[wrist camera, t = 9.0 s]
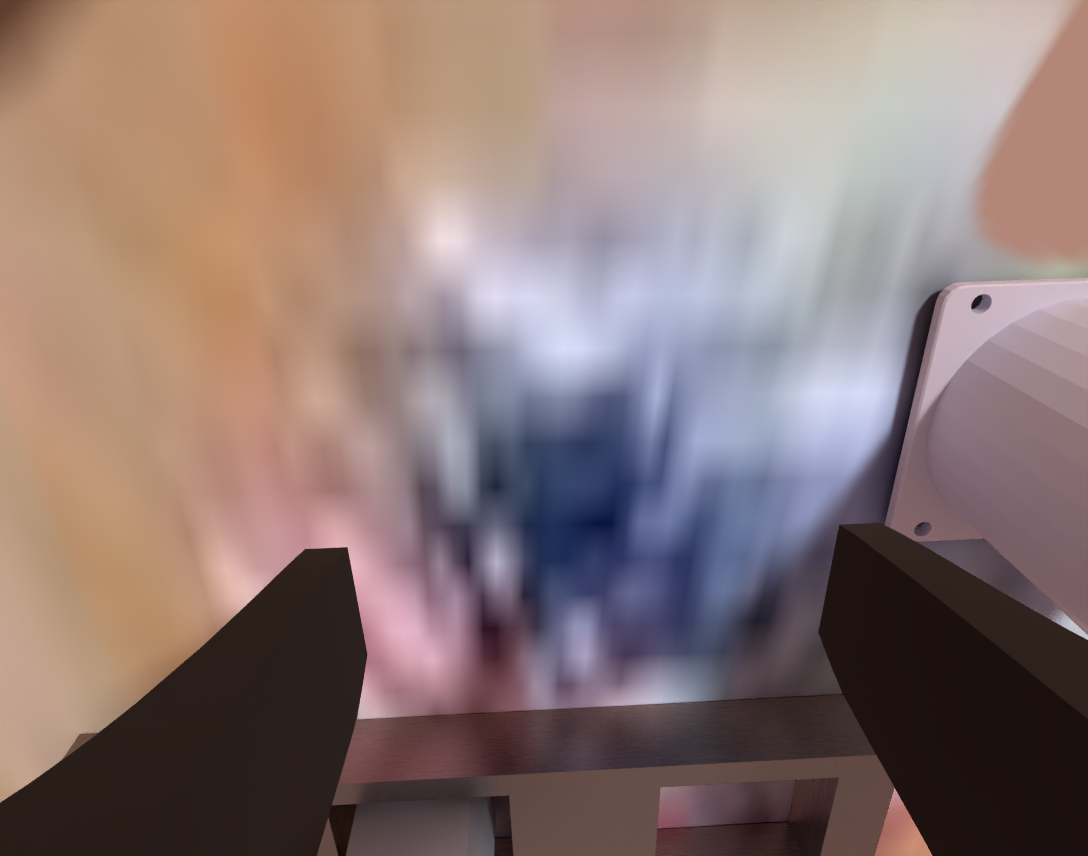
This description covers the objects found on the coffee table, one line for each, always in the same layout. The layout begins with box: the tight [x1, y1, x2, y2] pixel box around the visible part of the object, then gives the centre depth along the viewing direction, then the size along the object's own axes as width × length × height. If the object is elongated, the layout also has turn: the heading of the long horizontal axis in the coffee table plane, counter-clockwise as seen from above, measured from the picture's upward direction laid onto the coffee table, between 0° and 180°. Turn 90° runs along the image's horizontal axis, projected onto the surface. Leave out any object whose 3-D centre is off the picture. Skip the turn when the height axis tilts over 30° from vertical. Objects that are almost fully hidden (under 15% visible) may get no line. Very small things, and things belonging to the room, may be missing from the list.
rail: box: [62, 695, 895, 856], centre depth 25 cm, size 28×8×2 cm, turn 92°
